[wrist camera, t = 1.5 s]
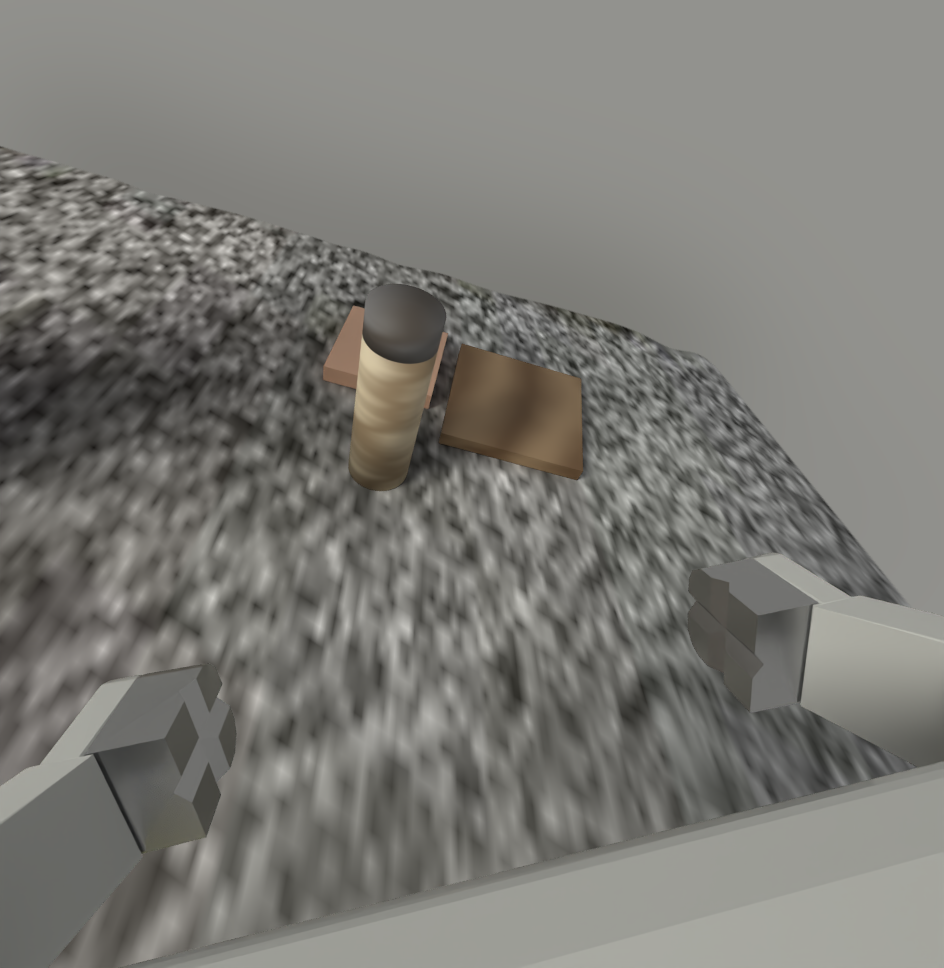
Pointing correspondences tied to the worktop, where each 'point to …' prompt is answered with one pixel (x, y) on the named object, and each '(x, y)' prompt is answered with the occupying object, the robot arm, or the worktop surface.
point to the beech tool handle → (393, 382)
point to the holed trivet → (347, 354)
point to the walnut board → (515, 413)
